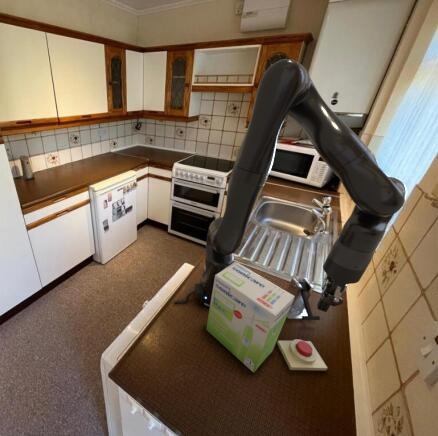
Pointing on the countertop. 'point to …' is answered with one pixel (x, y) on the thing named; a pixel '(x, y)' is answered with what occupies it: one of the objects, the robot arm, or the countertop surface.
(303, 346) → the stop button
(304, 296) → the press lever
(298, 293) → the grey upright angular piece
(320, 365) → the button block
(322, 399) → the countertop surface
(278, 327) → the toothbrush box
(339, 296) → the robot arm
